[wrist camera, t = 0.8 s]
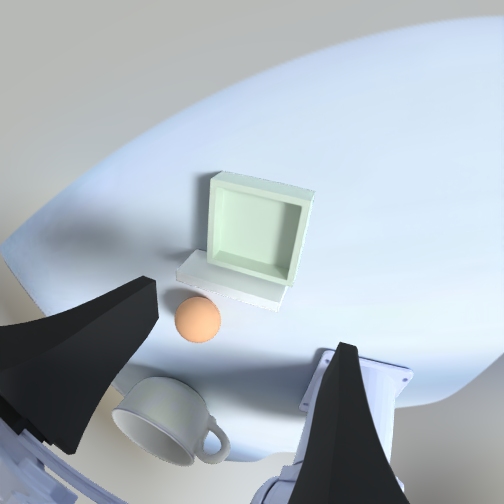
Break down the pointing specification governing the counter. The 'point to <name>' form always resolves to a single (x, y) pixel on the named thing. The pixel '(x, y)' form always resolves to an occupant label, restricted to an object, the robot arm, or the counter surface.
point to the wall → (230, 282)
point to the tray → (257, 226)
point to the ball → (197, 319)
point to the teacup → (169, 421)
